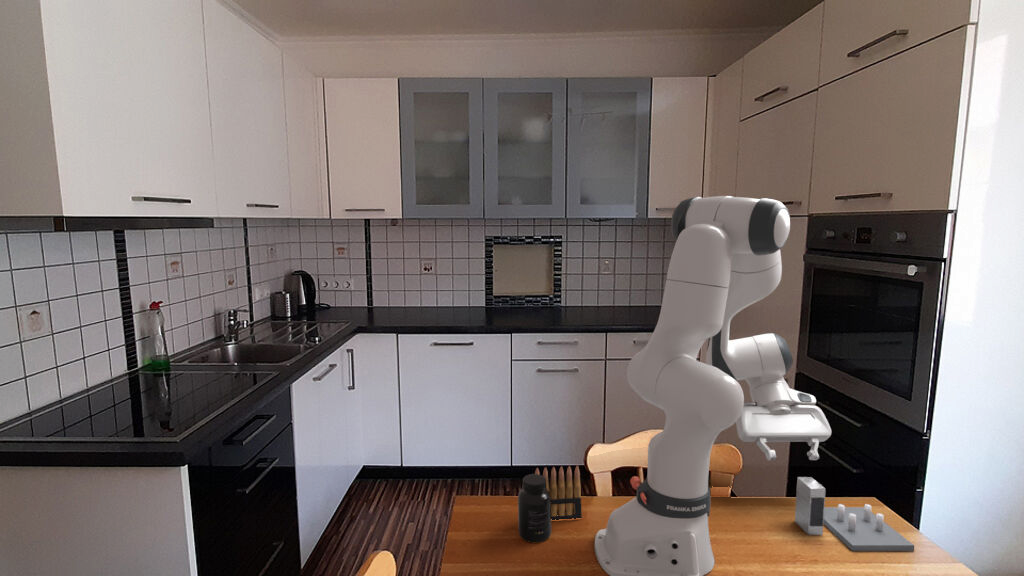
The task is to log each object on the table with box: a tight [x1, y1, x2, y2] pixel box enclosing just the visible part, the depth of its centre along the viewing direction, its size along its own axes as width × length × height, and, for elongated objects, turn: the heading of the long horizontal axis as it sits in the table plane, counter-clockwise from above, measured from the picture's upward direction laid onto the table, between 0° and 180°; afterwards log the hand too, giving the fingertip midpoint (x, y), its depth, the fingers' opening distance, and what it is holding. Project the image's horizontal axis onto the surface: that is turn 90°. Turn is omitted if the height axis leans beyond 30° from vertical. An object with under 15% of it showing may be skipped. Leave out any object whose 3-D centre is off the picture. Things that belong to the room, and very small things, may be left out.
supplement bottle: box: [517, 473, 552, 543], centre depth 105 cm, size 7×7×12 cm
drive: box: [794, 476, 827, 536], centre depth 107 cm, size 3×5×10 cm, turn 0°
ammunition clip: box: [534, 465, 583, 520], centre depth 111 cm, size 11×2×12 cm, turn 98°
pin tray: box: [823, 503, 915, 552], centre depth 107 cm, size 12×14×4 cm
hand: (793, 459), depth 113 cm, fingers open, 8 cm apart
